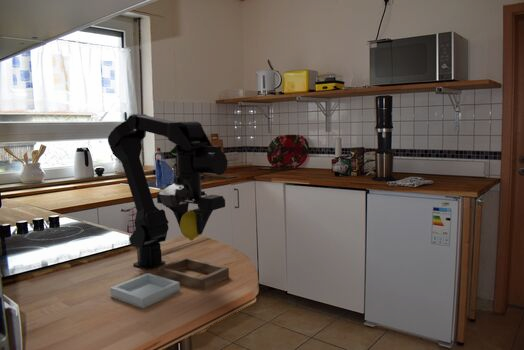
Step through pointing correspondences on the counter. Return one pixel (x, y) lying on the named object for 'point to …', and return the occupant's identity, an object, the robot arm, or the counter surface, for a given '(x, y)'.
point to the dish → (145, 290)
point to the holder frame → (172, 273)
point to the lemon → (189, 225)
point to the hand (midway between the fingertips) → (191, 232)
